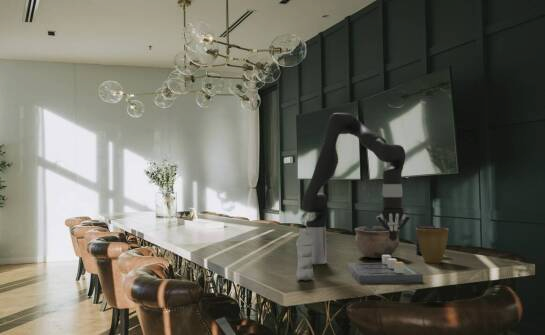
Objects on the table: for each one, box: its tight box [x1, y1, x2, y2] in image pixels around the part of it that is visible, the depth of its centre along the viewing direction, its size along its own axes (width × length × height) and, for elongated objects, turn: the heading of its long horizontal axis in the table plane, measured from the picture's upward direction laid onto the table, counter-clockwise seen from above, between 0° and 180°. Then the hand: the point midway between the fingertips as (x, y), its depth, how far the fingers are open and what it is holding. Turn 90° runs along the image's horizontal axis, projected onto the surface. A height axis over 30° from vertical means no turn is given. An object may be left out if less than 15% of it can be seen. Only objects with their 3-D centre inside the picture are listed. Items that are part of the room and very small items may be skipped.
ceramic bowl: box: [354, 225, 400, 259], centre depth 242 cm, size 22×22×15 cm
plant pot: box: [415, 227, 450, 264], centre depth 227 cm, size 15×15×16 cm
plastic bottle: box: [295, 228, 315, 282], centre depth 188 cm, size 6×7×20 cm
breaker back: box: [381, 255, 392, 264], centre depth 205 cm, size 3×4×3 cm
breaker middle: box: [387, 257, 398, 269], centre depth 195 cm, size 3×4×3 cm
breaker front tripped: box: [394, 261, 405, 273], centre depth 185 cm, size 3×4×4 cm
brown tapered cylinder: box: [415, 224, 436, 257], centre depth 250 cm, size 10×10×15 cm
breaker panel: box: [347, 262, 424, 284], centre depth 195 cm, size 24×28×3 cm
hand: (392, 240), depth 185 cm, fingers closed
